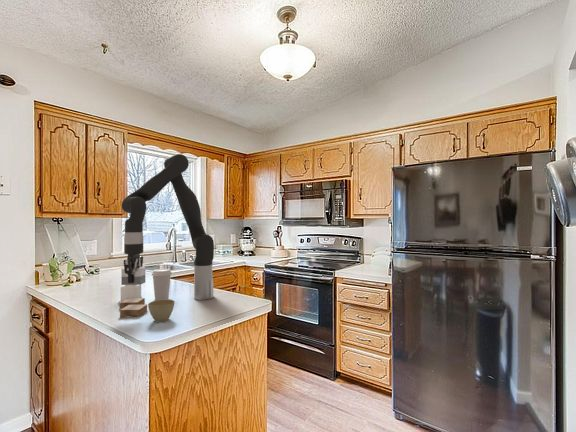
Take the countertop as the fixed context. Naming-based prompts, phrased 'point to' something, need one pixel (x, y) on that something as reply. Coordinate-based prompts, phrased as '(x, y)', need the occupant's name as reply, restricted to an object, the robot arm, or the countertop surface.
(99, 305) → the countertop surface
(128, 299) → the stand
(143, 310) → the stand
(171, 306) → the beige round bowl
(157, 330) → the countertop surface
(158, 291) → the coffee cup
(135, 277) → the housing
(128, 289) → the medicine bottle
